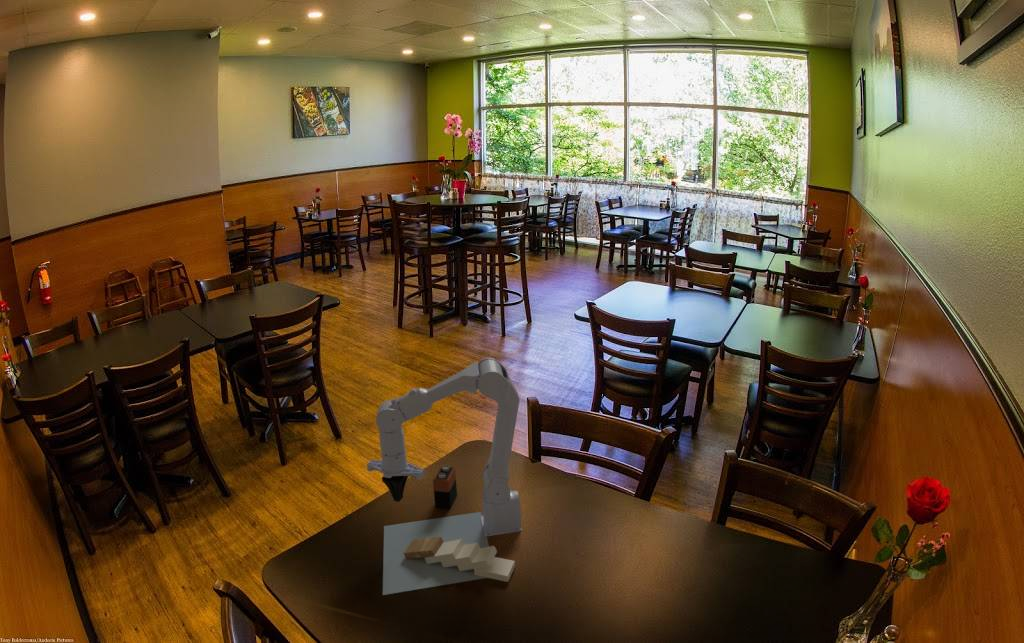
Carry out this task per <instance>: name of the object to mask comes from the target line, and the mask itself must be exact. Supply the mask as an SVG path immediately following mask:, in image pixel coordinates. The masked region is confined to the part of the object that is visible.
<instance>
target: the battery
mask: <svg viewBox="0 0 1024 643" xmlns="http://www.w3.org/2000/svg"><path fill="white" fill-rule="evenodd" d="M432 483H433V485H432V487H433V498H434V507H435V509H441V510H451V508H452V506H453V504H454V502H455V500H456V499H457V497H458V491H457V489H458V487H457V476H456V468H455V467H453V466H452V467H451V466H450V465H449V464H444V465H442V466H440V467H439V469H438V470H437V472H436V474H435V476H434V477H433V479H432Z"/></svg>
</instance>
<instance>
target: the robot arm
mask: <svg viewBox="0 0 1024 643" xmlns="http://www.w3.org/2000/svg"><path fill="white" fill-rule="evenodd" d="M463 391H465V392H469V393H471V394H474V395H477V394H478V391H479V393H480V394H481V395H483V396H484V397H486V398H488V399H490V400H493V401H494V402H496V403H497V404H498V405H497V410H496V417H495V424H494V429H493V430H494V431H493V436H492V443H491V447H490V448H491V449H490V454H489V457H488V458H487V463H486V465H485V466H484V468H483V469H482V473H481V475H482V479H483V487H484V489H483V490H482V493H481V498H482V501H481V502H482V516H481V517H480V518H481V523H482V527H483V531H484V535H485V536H487V537H491V536H492V537H493V536H498V535H504V534H505V535H506V534H511V533H517V532H521V531H522V530H523V528H522V508H521V500H520V495H519V491H518V490H511V489H510V486H509V480H510V472H509V471H510V458H511V454H512V447H513V441H514V436H515V430H516V423H517V419H518V418H517V417H518V411H519V406H520V396H519V393H518V390H517V388H516V386H515V384H514V383H513V381H512V379H511V377H510V375H509V373H508V370H507V368H506V367H505V366H504V365H503V364H502V362H500V361H498V360H497V359H496V358H494V357H485V358H482V359H481V360H480V361H477V362H473V363H471V364H470V365H468V366H467V367H465V368H464V369H462V370H461V371H458V372H456V373H455V374H453V375H451V376H449V377H447V378H446V379H444V380H442V381H440V382H439V383H437V384H435V385H433V386H432V387H430V388H423V387H419V388H415V387H413V388H410V389H409V391H408V393H406V394H404V395H402V396H400V397H397V398H395V397H394V398H391V400H385V401H383V402H381V404H379V407H378V409H377V413H376V418H375V424H376V427H377V428H378V432H379V435H378V438H379V446H380V447H379V448H380V453H381V459H379V460H378V459H377V460H376V459H375V460H374V459H373V460H372V459H371V460H369V461H368V462H367V463H366V468H367V472H372V471H376V472H379V473H382V474H383V476H382V477H381V481H382V483H383V484H384V485H385V486H386V487H387V489H388V491H389V492H390V494H391V497H392V499H393V502H397V503H399V502H401V501H402V499H403V498H404V490H405V486H406V483H407V481H408V478H409V477H412V478H415V479H416V480H419V481H421V480H423V478H424V477H425V469H424V468H421V467H418V466H416V465H414V464H412V463H410V462H407V461H408V460H407V451H406V442H405V432H404V429H403V423H405V422H407V421H410V420H412V419H414V418H417V417H418V416H420V415H422V414H424V413H427V412H429V411H430V410H432V407H433V405H434V403H436V402H439V401H441V400H444V399H446V398H448V397H450V396H453V395H455V394H458V393H461V392H463Z"/></svg>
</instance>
